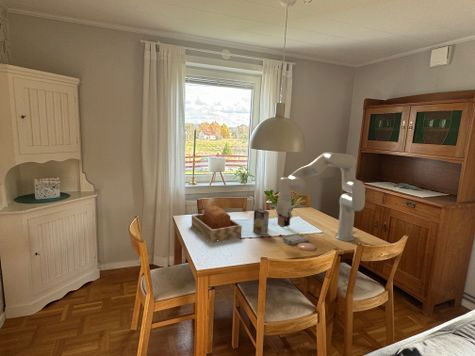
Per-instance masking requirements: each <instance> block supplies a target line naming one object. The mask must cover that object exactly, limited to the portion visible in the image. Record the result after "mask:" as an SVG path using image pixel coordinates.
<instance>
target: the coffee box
mask: <svg viewBox="0 0 475 356" xmlns="http://www.w3.org/2000/svg"><path fill="white" fill-rule="evenodd" d="M269 215H270V212H269V211H268V210H265V209H262V208H257V209H255V210H254V211H253V225H252V227H253V229H252V231H253V232H254V233H256V234H258V233H259V234H258V235H261V234H262V236H264V235H266V234H268V233H269V231H268V230H269V219H270V218H269ZM263 234H264V235H263Z"/></svg>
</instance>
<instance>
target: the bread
mask: <svg viewBox="0 0 475 356" xmlns="http://www.w3.org/2000/svg"><path fill="white" fill-rule="evenodd" d="M202 214H203V223H204V224H206V225H207V226H208V227H210V228H211V229H212V230H214V229H220V228H226V227H231V220H232V219H231V215H229V213H227V211H225V210H224V209H223V208H221V207H219V206H217V205H210V206H207V207H205V208H204V211H203V213H202ZM230 219H231V220H230Z"/></svg>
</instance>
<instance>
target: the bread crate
mask: <svg viewBox="0 0 475 356" xmlns="http://www.w3.org/2000/svg"><path fill="white" fill-rule="evenodd" d="M203 214H204V213H201V214H200V213H198V214H194V215H193V214H192V215H191V227H192V226H193V227H192V228H193V229H194V230H196V231H197V232H198V233H199V234H201V236H203V235H204V236H205V237H204V236H203V237H204V238H206V240H208V239H209V240H210V241H211V242H210V241H209V240H208V241H209V242H210V243H213V242H212V241H216V242H218V241H217V240H222V241H224V240H223V239H227V240H231V239H230V238H232V239H237V238H240V237H239V236H241V237H242V230H243V229H242V227H243V226H242V225H241V224H240V223H238V222H236V221H235V220H233V219H231V218H230V220H231V227H226V228H220V229H214V230H212V229H211V228H210V227H208V226H207V225H206V224H204V223H203ZM236 237H237V238H236Z"/></svg>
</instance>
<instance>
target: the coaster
mask: <svg viewBox="0 0 475 356" xmlns="http://www.w3.org/2000/svg"><path fill="white" fill-rule="evenodd" d="M297 247H298V249H300V250H303V251H311V252H312V251H315V250H316V246H315V244H312V243H310V242H300V243H297Z"/></svg>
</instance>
